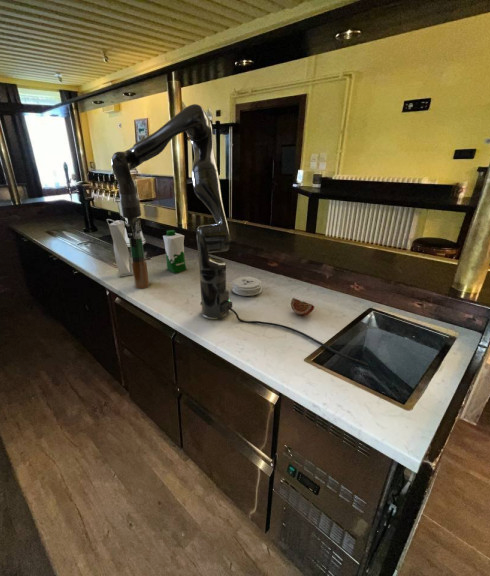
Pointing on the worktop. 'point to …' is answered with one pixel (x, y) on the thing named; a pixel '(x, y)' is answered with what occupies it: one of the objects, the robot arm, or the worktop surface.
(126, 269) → the white paper bag
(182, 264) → the milk carton
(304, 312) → the fruit slice
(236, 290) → the lid
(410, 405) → the worktop surface
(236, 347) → the worktop surface
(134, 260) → the amber bottle
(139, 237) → the green bottle
